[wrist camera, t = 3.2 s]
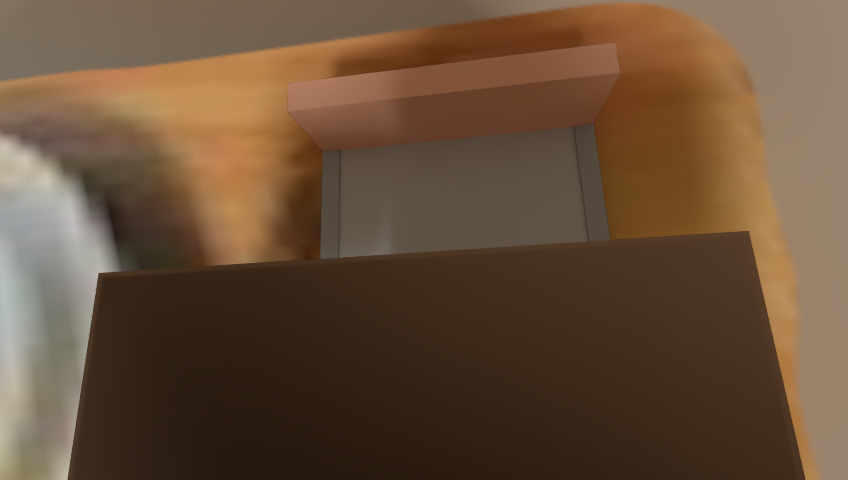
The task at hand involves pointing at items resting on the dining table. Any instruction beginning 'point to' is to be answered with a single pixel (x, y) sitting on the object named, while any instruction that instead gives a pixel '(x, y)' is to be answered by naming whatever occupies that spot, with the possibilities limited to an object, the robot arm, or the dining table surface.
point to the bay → (461, 153)
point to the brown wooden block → (441, 368)
